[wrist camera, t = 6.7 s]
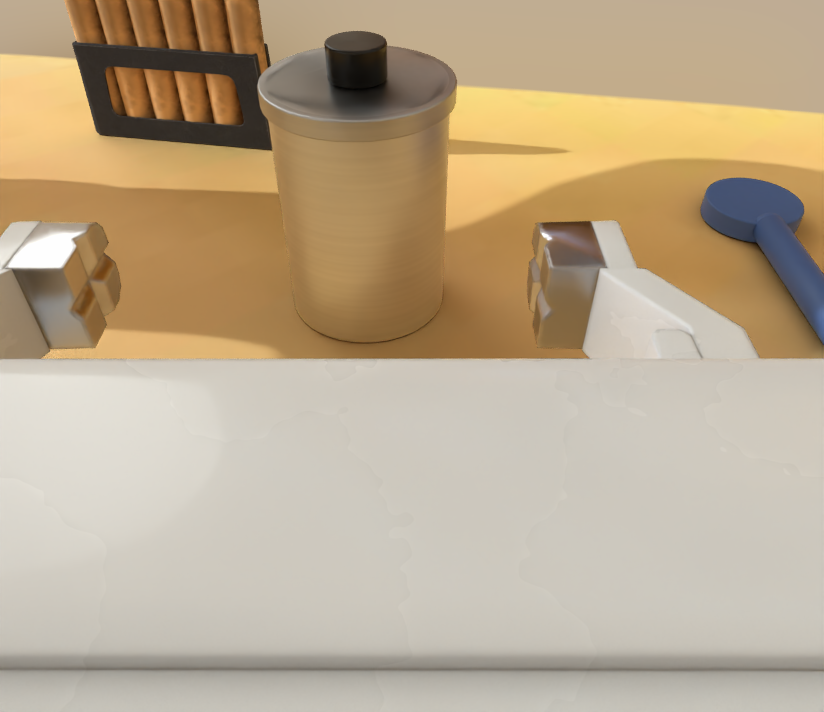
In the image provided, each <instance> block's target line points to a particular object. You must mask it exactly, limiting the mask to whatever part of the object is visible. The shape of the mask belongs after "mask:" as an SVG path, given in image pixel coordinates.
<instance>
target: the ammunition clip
mask: <svg viewBox="0 0 824 712" xmlns="http://www.w3.org/2000/svg"><path fill="white" fill-rule="evenodd" d="M64 1H65V4H66V8H67V11H68V14H69V17H70V21H71V24H72V27H73V31H74V34H75V37H76V40H77V41H75V42H73V44H72V45H73V48H74V52H75V55H76V59H77V62H78V66H79V69H80V73H81V76H82V80H83V84H84V87H85V91H86V95H87V98H88V102H89V106H90V109H91V113H92V117H93V121H94V124H95V128H96V131H97V132H98V133H99V134H100V135H110V136H121V137H132V138H144V139H155V140H166V141H178V142H189V143H200V144H211V145H223V146H234V147H245V148H257V149H268V150H272V143H271V136H270V129H269V122H268V119H267V118H266V117H265V116H264V114H263V113H262V111H261V108H260V103H259V96H258V89H257V84H258V80H259V78H260V76H261V74H262V73H263V72H264V71H265V70H266V69H267V68H269V67H270V66H271V65H270V58H269V54H268V47H267V44H264V40H263V32H262V25H261V18H260V11H259V4H258V0H225V1H224V0H64Z"/></svg>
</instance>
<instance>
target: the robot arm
mask: <svg viewBox="0 0 824 712" xmlns="http://www.w3.org/2000/svg"><path fill="white" fill-rule="evenodd" d="M108 243H109V242H108V240H107V237H106V235H105V232H104V230H103V227H101V226H100V225H99V224H98V223H96V222H46V221H45V222H42V221H19V222H14V223H11V224H10V225H9V227H8V228H7V229H6V230H5V232H4V233H3V234H2V235H1V237H0V712H824V358H816V359H760V357H759V355H758V353H757V351H756V349H755V348H754V346H753V344H752V342H751V340H750V338H749V336H748V335H747V333H746V331H745V329H744V328H743V327H741V326H740V325H738V324H736V323H735V322H733V321H731V320H730V319H728V318H726V317H725V316H723V315H721V314H720V313H718V312H716V311H715V310H713V309H712V308H710V307H708V306H707V305H705V304H703V303H702V302H700V301H698V300H697V299H695V298H693V297H692V296H690V295H688V294H687V293H685V292H684V291H682V290H680V289H679V288H677V287H675V286H674V285H672V284H670V283H669V282H667V281H665V280H664V279H662V278H660V277H659V276H657V275H656V274H654V273H652V272H651V271H649V270H647V269H646V268H638V267H637V265H636V262H635V260H634V258H633V255H632V253H631V250H630V248H629V246H628V243H627V241H626V239H625V236H624V234H623V231H622V229H621V227H620V224H619V222H617V221H615V220H612V221H585V222H546V223H536V224H535V227H534V231H533V238H532V245H533V250H534V255H535V257H534V258H533V259H532V260H531V261H530V262H529V269H528V280H527V295H528V303H529V309H530V310H531V311H532V312H533V313H534V318H533V329H534V334H535V339H536V344H537V348H565V349H582V351H583V352H584V353H585V354H586V355H587V356H588V357H589V358H590V359H41V358H42V357H43V356H45V355H46V354H47V353H49V352H50V349H74V348H95V347H96V345H97V344H98V342H99V340H100V338H101V336H102V334H103V332H104V330H105V328H106V326H107V324H106V321H105V318H104V316H106V315H107V314H109V313H110V312H112V311H114V310H115V308H116V306H117V304H118V302H119V298H120V289H121V283H120V276H119V272H118V269H117V266H116V263H115V262H114V261H113V260H112V259H111V258H110V257H108V256H107V255H106V254H105V253H104V251H105V249H106V247H107V245H108Z"/></svg>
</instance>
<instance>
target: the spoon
mask: <svg viewBox="0 0 824 712" xmlns="http://www.w3.org/2000/svg"><path fill="white" fill-rule="evenodd" d="M803 214H804V206H803V203H802V202H801V200H800V199H799V198H798V197H797V196H795V195H794V194H793V193H791V192H790V191H788V190H786V189H785V188H782V187H780V186H778V185H775V184H772V183H769V182H766V181H762V180H757V179H750V178H728V179H723V180H719V181H717V182H714V183H713V184H711V185H710V186H709V187H708V188H707V190H706V193H705V196H704V199H703V202H702V205H701V215H702V217H703V219H704V220H705V222H706V223H707V224H708V225H710V226H711V227H712V228H714V229H715V230H717V231H719V232H720V233H722V234H725V235H727V236H730V237H732V238H735V239H739V240H743V241H748V242H755V243H758V245H759V246H760V248H761V249H762V251H763V253H764V254H765V256H766V257H767V259H768V260H769V262H770V263H771V265H772V266H773V268H774V269H775V271H776V273H777V274H778V276H779V277H780V279H781V280H782V282H783V283H784V285H785V286H786V288H787V289H788V291H789V292H790V294H791V296H792V297H793V299H794V300H795V302H796V303H797V305H798V306H799V308H800V309H801V311H802V312H803V314H804V316H805V317H806V319H807V320H808V322H809V323H810V325H811V326H812V328H813V329H814V331H815V332H816V334H817V335H818V337H819V339H820V340H821V342H822V343H823V345H824V274H823V273H822V271H821V270H820V269H819V267H818V266H817V264H816V263H815V262H814V260H813V259H812V258H811V256H810V255H809V254H808V252H807V251H806V249H805V248H804V247H803V245H802V244H801V243H800V241H799V240H798V239H797V237H796V236H795V234H794V233H795V232H796V230H797V228H798V226H799V224H800V221H801V219H802V217H803Z"/></svg>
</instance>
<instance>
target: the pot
mask: <svg viewBox="0 0 824 712" xmlns="http://www.w3.org/2000/svg"><path fill="white" fill-rule="evenodd" d="M257 89H258V96H259V103H260V108H261V111H262V113H263V114H264V116H265V117H266V118H267V119H268V122H269V129H270V136H271V143H272V150H273V157H274V164H275V171H276V178H277V185H278V192H279V199H280V206H281V213H282V220H283V227H284V234H285V241H286V247H287V254H288V261H289V268H290V275H291V282H292V289H293V296H294V303H295V307H296V310H297V312H298V314H299V315H300V317H301V318H302V319H303V321H304V322H305V323H306V324H308V325H309V326H310V327H311V328H313V329H314V330H316V331H317V332H319V333H322V334H324V335H326V336H329V337H332V338H335V339H339V340H343V341H349V342H361V343H369V342H381V341H388V340H392V339H396V338H399V337H403V336H406V335H408V334H410V333H412V332H414V331H416V330H418V329H420V328H421V327H423V326H424V325H425V324H427V323H428V322H429V321H430V320H431V319H432V318H433V317H434V316H435V314H436V313H437V312H438V310H439V308H440V306H441V303H442V298H443V274H444V248H445V221H446V195H447V169H448V143H449V116H450V113H451V112H452V110H453V109H454V106H455V103H456V89H457V80H456V76H455V74H454V72H453V70H452V69H451V68H450V67H449V66H448V65H447V64H445V63H444V62H442V61H440V60H438V59H436V58H435V57H433V56H430V55H428V54H424V53H422V52H418V51H414V50H410V49H406V48H400V47H393V46H387V42H386V39H385V38H383V36H381V35H378V34H375V33H371V32H364V31H351V32H343V33H338V34H335V35H332V36H330V37H329V38H327V39H326V41H325V47H324V48H318V49H313V50H309V51H305V52H301V53H298V54H295V55H292V56H289V57H286V58H285V59H282V60H280V61H278V62H276V63H274V64H273V65H271V66H270V67H269V68H267V69H266V70H265V71H264V72H263V73H262V74H261V76H260V78H259V80H258V84H257Z"/></svg>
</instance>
